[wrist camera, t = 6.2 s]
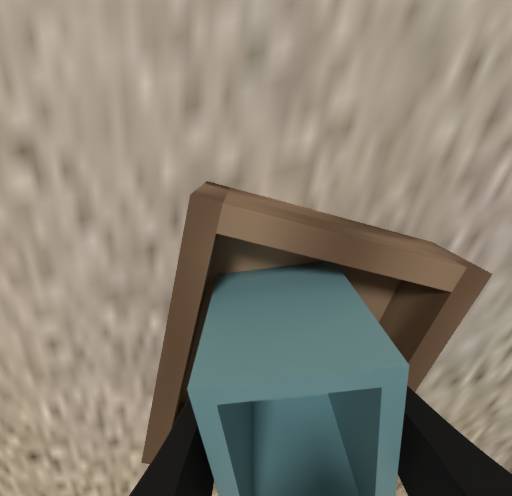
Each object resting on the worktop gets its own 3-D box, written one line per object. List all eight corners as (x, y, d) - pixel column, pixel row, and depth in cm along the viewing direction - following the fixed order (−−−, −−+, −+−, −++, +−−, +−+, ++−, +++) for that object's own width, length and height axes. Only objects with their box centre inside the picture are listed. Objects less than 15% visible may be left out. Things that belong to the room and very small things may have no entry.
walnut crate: (432, 242, 12) (492, 274, 9) (330, 430, 17) (347, 493, 14) (206, 181, 11) (190, 194, 8) (162, 401, 15) (141, 462, 12)
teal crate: (333, 260, 12) (409, 365, 6) (336, 391, 15) (389, 545, 9) (217, 274, 12) (187, 389, 6) (242, 401, 15) (237, 559, 9)
